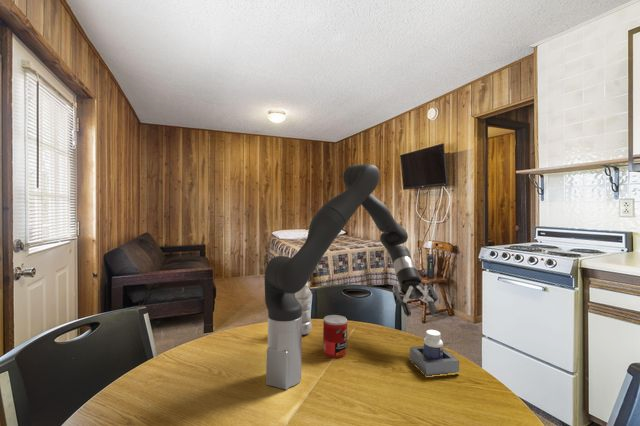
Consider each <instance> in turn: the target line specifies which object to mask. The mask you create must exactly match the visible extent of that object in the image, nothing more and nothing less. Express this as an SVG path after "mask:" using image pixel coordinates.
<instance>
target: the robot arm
mask: <svg viewBox="0 0 640 426" xmlns="http://www.w3.org/2000/svg"><path fill="white" fill-rule="evenodd" d="M342 176H343V183H344V185H345V187H346V190H345V191H343V192H341V193H339V194H338V195H336V196H334V197H332V198H330V199H329V200H327V202H325V203H324V204H323V205H322V206H321V207H320V209H319V210H318V211H317V212H316V214H315V215H314V216H313V218H312V219H311V220H310V224H309V226H308V232H307V237H306V240H305V241H304V243H303V244H302V246H301V247H300V249H299V250H298V251H297V252H296V253H295V254H294V255H293V256H292V257H290V256H284V255H277V256H274V257H272V258H271V259H270V260H269V261H268V263H267V264H266V267H265V271H264V302H265V307H266V309H267V316H268V317H267V348H266V361H265V362H266V364H265V365H266V372H265V373H266V379H265V383H266V385H267V386H271V387H274V388H278V389H281V390H282V389H283V390H288V389H289V388H290V387H294V386H297V384H299V383H300V382H301V380H302V356H303V355H302V350H303V349H302V348H303V346H302V345H303V343H302V340H303V339H302V336H303V335H302V306H301V304H300V303H299V302H298V300H297V299H296V297H295V293H296V292H299V291H300V290H301V289H302V288H303V287H304V286H305V285H306V283H307V282H308V283H309V280H310V278H311V276H312V275H313V273H314V271H315V269H316V268H317V266H318V264H320V262H321V259H322V258H323V256H324V255H325V254H326V252H327V251H328V249H329V248H330V246H331V245H332V243H333V242H334V241H335V239H336V238H337V237H338V236H339V234H340V233H341V232H342V231H343V229H344V228H345V226H346V225H347V223H348V221H350V219H351V217H352V216H354V214H355V212H357V210H358V209H359V207H360V206H362V207H363V208H364V210H366V212H367V213H368V215H369V216H370V217H371V219H372V221H373V222H374V224H375V226H376V228H377V229H378V231H380V232H381V234H380V238H379V239H380V240H379V241H380V242H381V243H380V244H382V246H383V247H384V248H385V249H386V251H387V252H388V254H389V256H390V259H391V262H392V265H393V269H394V273H395V276H396V279H397V282H398V285H396V284H395V285H393V288H392V289H391V291H392V294H393V299H394V303H395V305H396V306H398V305H400V306H401V307H402V310H403V314H404V315H405V316H406V317H408V318H409V317H411V315H412V312H411V308H410V305H409V303H407V302H408V300H421V302H424V303H426V305H427V307H428V309H429V312H430V315H431V316H435V315H436V314H437V310H438V309H437V308H436V305H435V304H436V303H437V301H438V300H439V298H438V295H437V293H436V291H435V290H434V287H433V285H432V284H431V283H430V284H428V285H423V283H422V279H421V277H420V274H419V271H418V269H417V267H416V265H415V262H414V260H413V258H412V256H411V253H410V251H409V249H408V247H407V246H405V245H402V244H405V243H406V242H408V239H409V235H408V234H409V233H408V232H407V231H406V229H405V228H404V227H403V226H402V225H400V223H398V222H397V221H396V219H395V218H394V216H393V214H392V212H391V210H390V209H389V208H388V207H387V206H386V204H385V203H383V202H382V201H381V200H380V199H378V198H377V197H376V196H375V195H374V194H372V193H373V192H374V191H375V190H376V189H377V187H378V184H379V182H380V179H381V178H380V176H381V173H380V170H379V168H378V167H377V166H376V165H374V164H371V163H370V164H369V163H364V164H353V165H349V166H348V167H346V168H345V170H344V171H343V175H342ZM400 292H401V293H402V294H403V295H404V296H403V297H402V299H401V295H400Z"/></svg>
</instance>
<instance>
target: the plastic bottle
mask: <svg viewBox="0 0 640 426" xmlns="http://www.w3.org/2000/svg"><path fill="white" fill-rule="evenodd" d="M309 285H310V284H309V281H308V282H307V283H306V285H305V286H304V287H303V288H302V289H301V290H300V291H299V292H296V293H294V295H295V297H296V299H297V300H298V302H299V303H300V304H301V306H302V336H304V335H308V334H310V332H311V331H312V321H311V304H312V298H313V297H312V296H313V293H312V291H311V290H310V288H309Z"/></svg>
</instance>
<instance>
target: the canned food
mask: <svg viewBox="0 0 640 426" xmlns="http://www.w3.org/2000/svg"><path fill="white" fill-rule="evenodd" d="M322 323H323V325H322V326H323V328H322V331H323V332H322V333H323V345H322V347H323V349H322V350H323V353H324V354H325V356H327V357H330V358H334V359H335V358H336V359H339V358H343V357H344V356H346V354H347V352H348V319H347V318H346V316H344V315H339V314H329V315H326V316H324V317H323V322H322Z"/></svg>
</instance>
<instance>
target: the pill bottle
mask: <svg viewBox="0 0 640 426" xmlns="http://www.w3.org/2000/svg"><path fill="white" fill-rule="evenodd" d="M425 336H426V337H424V339H423V346H424V352H423V355H424V356H425V357H426V358H427V359H428V360H435V359H443V348H444V342H443V340H442V339H441V338H442V337H441V336H442V335H441V332H440V331H438V330H435V329H428V330H426V332H425Z"/></svg>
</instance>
